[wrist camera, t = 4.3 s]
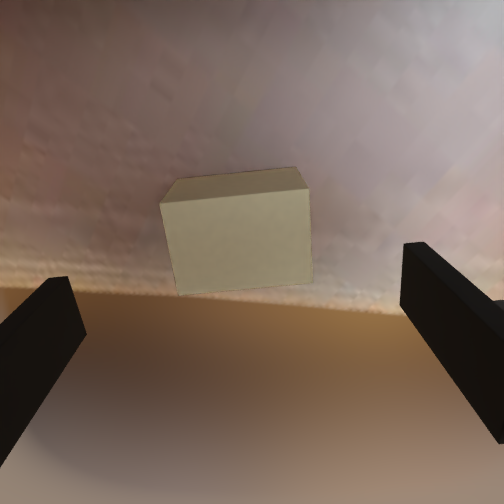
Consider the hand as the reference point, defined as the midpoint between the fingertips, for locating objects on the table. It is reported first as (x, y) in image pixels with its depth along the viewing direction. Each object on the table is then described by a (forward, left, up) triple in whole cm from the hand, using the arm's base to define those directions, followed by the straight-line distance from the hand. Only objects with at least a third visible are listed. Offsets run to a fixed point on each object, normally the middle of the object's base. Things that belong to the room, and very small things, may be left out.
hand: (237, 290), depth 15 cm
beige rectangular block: (0, 0, -9) cm, 9 cm away
